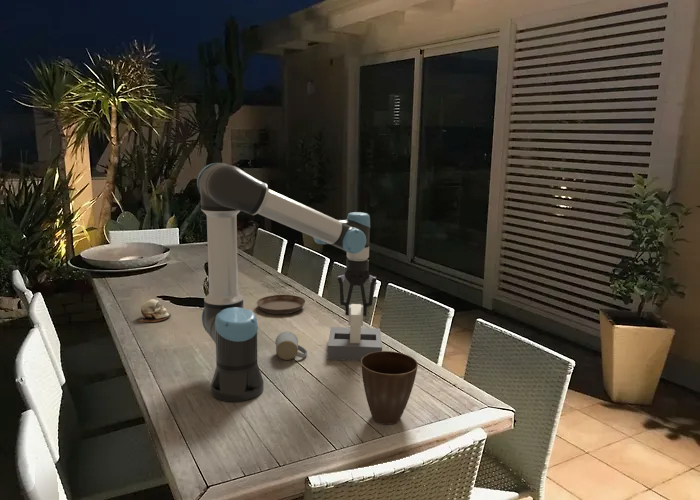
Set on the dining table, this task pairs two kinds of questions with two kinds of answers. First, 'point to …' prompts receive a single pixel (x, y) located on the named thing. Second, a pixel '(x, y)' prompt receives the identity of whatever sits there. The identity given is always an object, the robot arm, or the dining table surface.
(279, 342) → the ceramic mug
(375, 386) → the plant pot
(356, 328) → the bar
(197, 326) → the dining table surface
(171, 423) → the dining table surface
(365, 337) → the plate
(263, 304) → the plant saucer
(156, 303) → the skull
